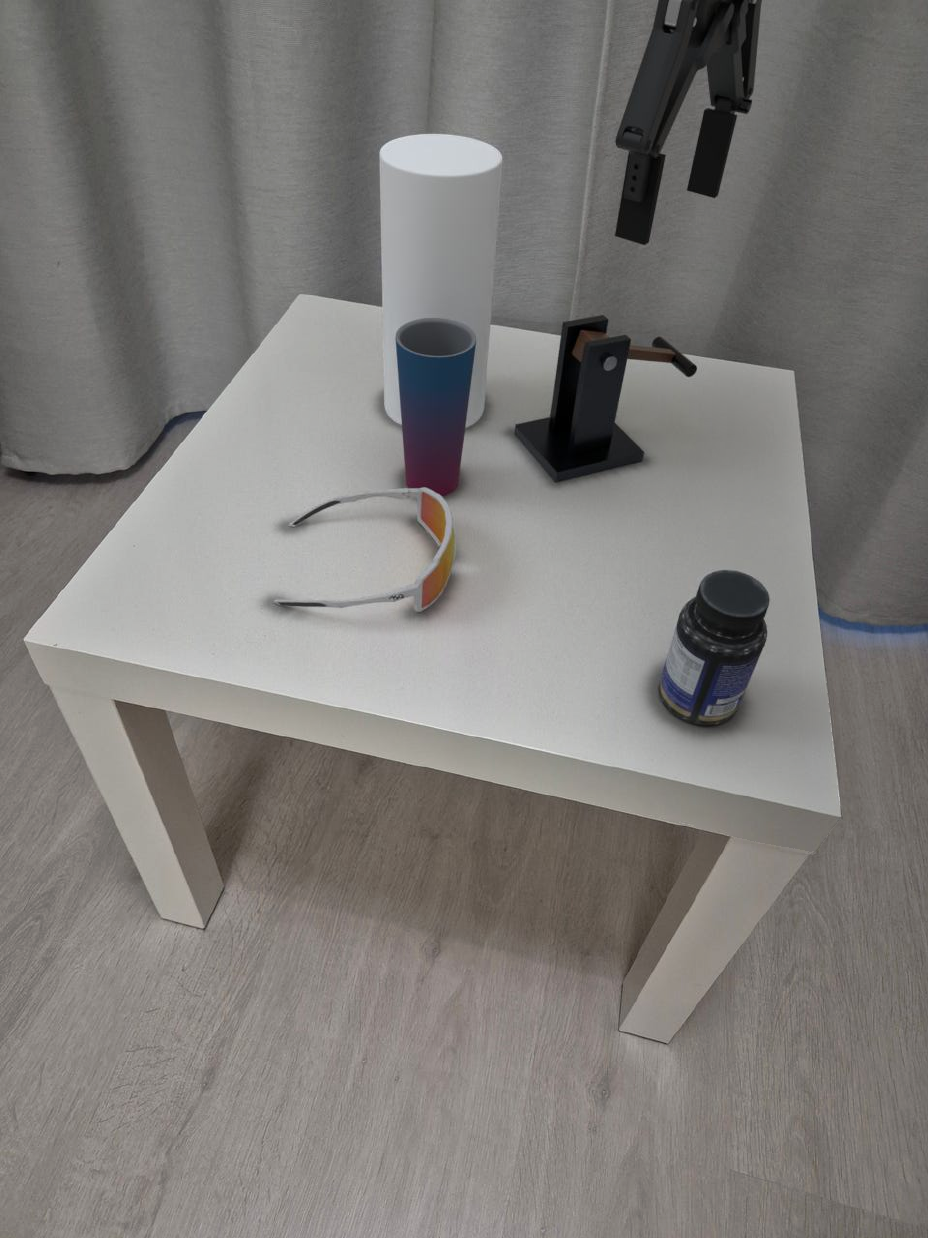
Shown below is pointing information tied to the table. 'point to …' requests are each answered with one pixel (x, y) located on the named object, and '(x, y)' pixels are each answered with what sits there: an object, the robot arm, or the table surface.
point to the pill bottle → (715, 648)
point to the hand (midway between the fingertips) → (668, 215)
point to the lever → (642, 352)
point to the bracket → (583, 408)
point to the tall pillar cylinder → (438, 245)
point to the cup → (434, 399)
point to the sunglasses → (433, 579)
